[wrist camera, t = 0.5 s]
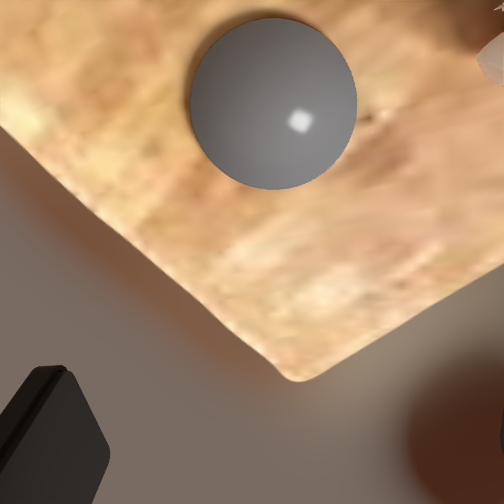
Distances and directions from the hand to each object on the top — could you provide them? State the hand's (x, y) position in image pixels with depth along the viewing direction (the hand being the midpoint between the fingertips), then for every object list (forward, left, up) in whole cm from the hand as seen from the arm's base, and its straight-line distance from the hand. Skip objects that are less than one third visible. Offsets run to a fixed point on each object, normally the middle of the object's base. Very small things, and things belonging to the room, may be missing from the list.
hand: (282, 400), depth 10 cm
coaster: (+1, -2, -27) cm, 27 cm away
